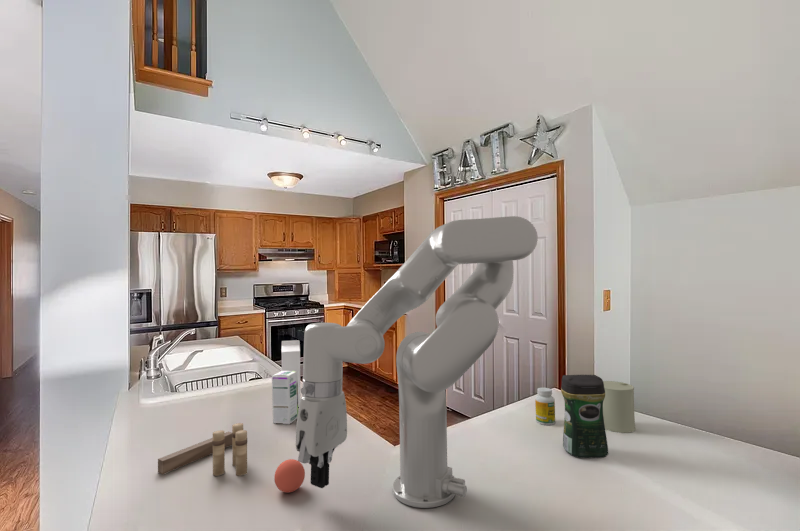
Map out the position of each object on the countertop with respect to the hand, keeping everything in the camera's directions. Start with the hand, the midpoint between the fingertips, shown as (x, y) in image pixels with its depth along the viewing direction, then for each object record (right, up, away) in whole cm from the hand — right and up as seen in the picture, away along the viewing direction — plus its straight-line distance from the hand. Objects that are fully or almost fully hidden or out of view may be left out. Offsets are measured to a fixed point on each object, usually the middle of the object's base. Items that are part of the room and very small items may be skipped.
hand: (319, 484), depth 76 cm
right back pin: (-23, -5, +17) cm, 29 cm away
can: (+76, -4, +36) cm, 84 cm away
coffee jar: (+60, -4, +20) cm, 63 cm away
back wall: (-34, -5, +21) cm, 40 cm away
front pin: (-20, -4, +13) cm, 24 cm away
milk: (-22, -6, +59) cm, 63 cm away
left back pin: (-25, -5, +13) cm, 29 cm away
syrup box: (-19, -6, +45) cm, 49 cm away
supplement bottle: (+58, -4, +40) cm, 70 cm away
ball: (-7, -1, +5) cm, 9 cm away
